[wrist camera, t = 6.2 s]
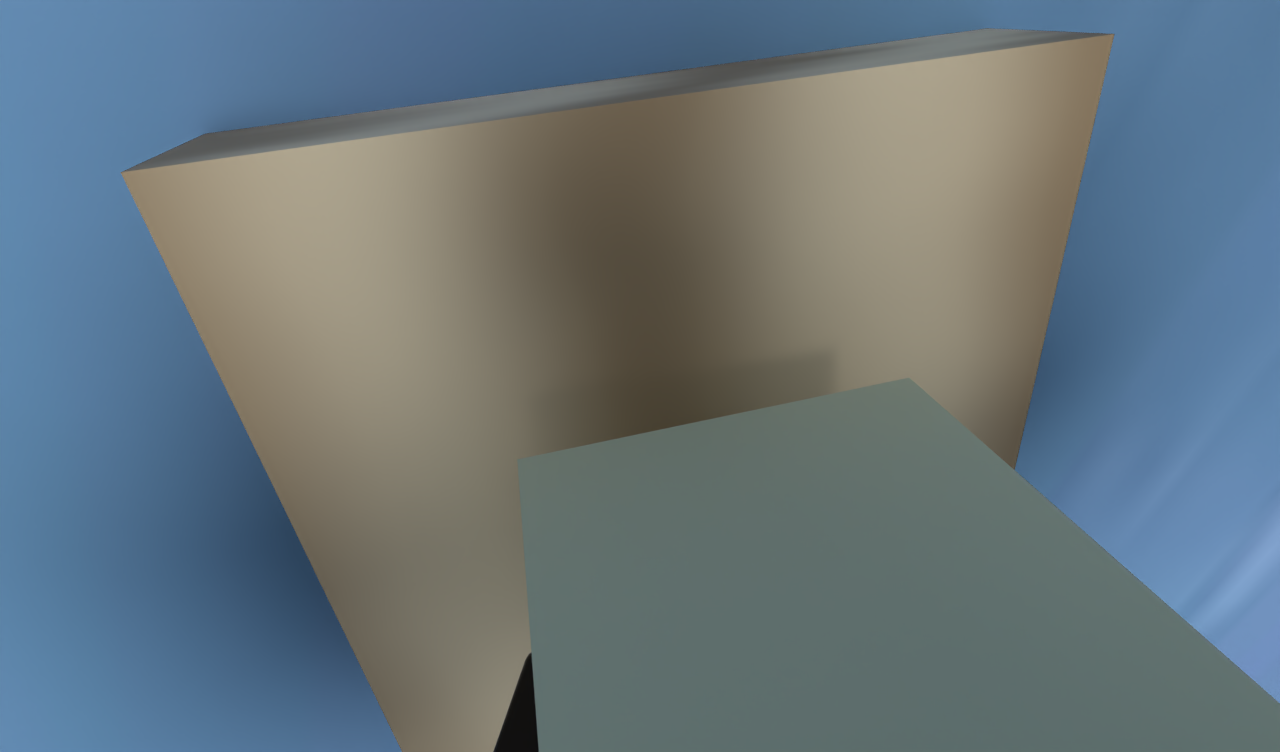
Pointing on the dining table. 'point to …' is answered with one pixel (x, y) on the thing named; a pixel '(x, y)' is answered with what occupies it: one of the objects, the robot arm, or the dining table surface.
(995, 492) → the cube
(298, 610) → the dining table surface
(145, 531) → the dining table surface
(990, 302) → the base slab
